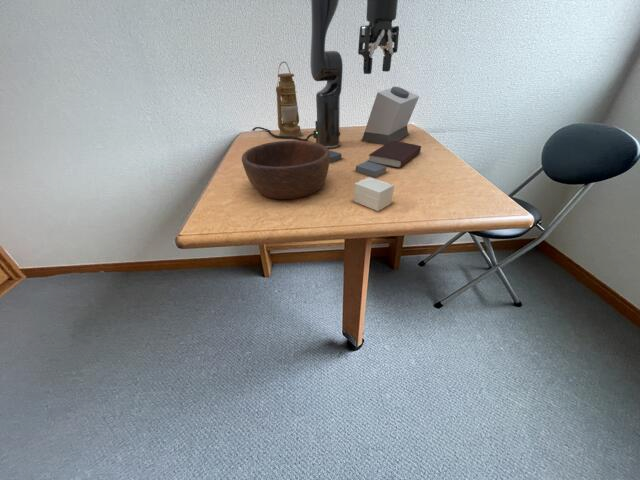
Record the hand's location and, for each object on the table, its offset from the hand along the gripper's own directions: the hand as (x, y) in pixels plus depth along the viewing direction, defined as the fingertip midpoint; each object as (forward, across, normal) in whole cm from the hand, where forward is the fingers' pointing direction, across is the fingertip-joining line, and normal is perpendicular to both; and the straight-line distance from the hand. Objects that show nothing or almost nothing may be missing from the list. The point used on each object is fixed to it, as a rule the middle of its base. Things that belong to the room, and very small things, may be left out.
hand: (376, 72), depth 78 cm
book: (+28, -15, 0) cm, 32 cm away
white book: (+25, +19, +16) cm, 35 cm away
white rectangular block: (+28, +19, +16) cm, 38 cm away
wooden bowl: (+28, +28, -9) cm, 41 cm away
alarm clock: (+28, -36, -18) cm, 49 cm away
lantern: (+28, -10, -56) cm, 64 cm away
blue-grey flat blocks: (+28, +2, -8) cm, 29 cm away
